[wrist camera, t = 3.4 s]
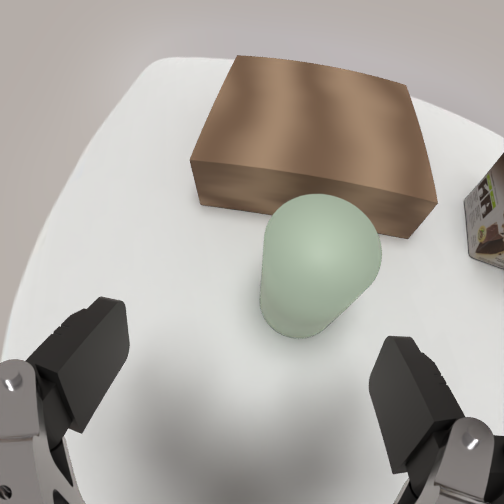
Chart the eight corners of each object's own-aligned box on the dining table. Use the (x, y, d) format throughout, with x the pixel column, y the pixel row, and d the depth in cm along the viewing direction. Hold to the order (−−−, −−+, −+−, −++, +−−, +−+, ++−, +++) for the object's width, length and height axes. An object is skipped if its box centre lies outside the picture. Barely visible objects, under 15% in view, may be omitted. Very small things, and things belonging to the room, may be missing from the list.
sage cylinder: (338, 270, 20) (380, 204, 13) (331, 343, 18) (380, 311, 11) (266, 259, 21) (273, 185, 14) (253, 331, 19) (253, 292, 11)
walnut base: (391, 121, 27) (405, 85, 23) (407, 239, 21) (437, 203, 17) (238, 95, 29) (237, 55, 24) (200, 204, 23) (189, 159, 18)
